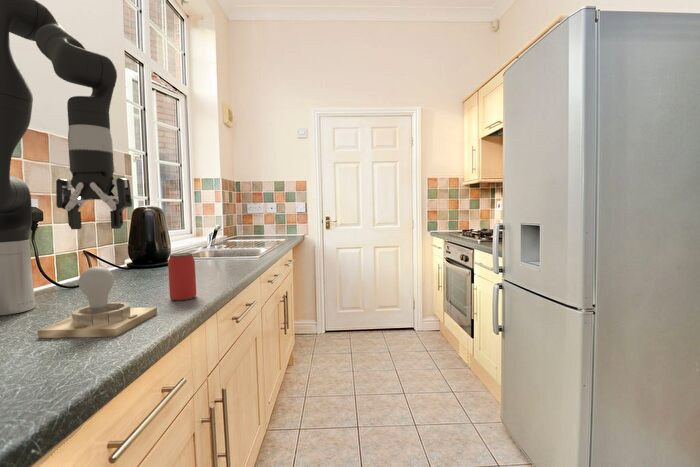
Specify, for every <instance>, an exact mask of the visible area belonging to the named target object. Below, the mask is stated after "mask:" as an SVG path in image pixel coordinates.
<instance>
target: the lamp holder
mask: <svg viewBox="0 0 700 467" xmlns="http://www.w3.org/2000/svg"><path fill="white" fill-rule="evenodd" d="M157 314H158V308H157V307H156V306H154V307H131V304H130V303H129V302H125V301H123V302H122V301H119V302H117V301H115V302H107V305H106V312H104V313H97V314H92V312H91V307H90V306H89V305H87V306H83V307H80V308H78V309H75V310H73V311H72V313H71V316H70V317H68V318H65V319H63V320H60V321H58V322H55V323H53V324H50V325H47V326H45V327H42V328H40V329H38V330H37V338H38V339H46V338H48V339H49V338H50V339H51V338H53V339H54V338H55V339H57V338H60V339H61V338H94V337H95V338H97V337H98V338H102V337H103V338H104V337H105V338H106V337H108V338H110V337H111V338H112V337H113V338H115V337H118V336H119V335H121V334H124V333H125V332H127V331H128V330H130V329H133V328H134V327H136V326H137V325H140V324H141V323H143V322H145V321H147V320H149V319H150V318H152V317H154V316H157Z"/></svg>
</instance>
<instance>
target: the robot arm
mask: <svg viewBox="0 0 700 467" xmlns="http://www.w3.org/2000/svg"><path fill="white" fill-rule="evenodd" d="M10 33H11V34H14V35H15V36H18V37H20V38H22V39H25V40H28V41H32V42H35V44H36V46H37V48H38V49H39V51H40V52H41V53H42V55H44V56H45V58H47V59H48V60H49V61H51V64H52V68H53V71H54V73H55V75H56V76H57V77H59V79H60V80H63V81H65V82H67V83H71V84H75V85H78V86H82V87H87V88H91V90H92V92H91V94H90V95H75V96H72V97H71V96H70V98H68V99H67V106H66V108H67V121H68V125H67V126H68V130H67V131H68V132H67V145H68V146H67V147H68V160H69V161H68V162H69V171H70V172H71V175H72V177H71V179H65V178H58V179H56V182H55V185H56V186H55V187H56V189H55V191H56V195H55V197H56V207H57V208H58V209H62V210H65V211H66V212H67V220H68V221H67V222H68V226H69V227H70V229H71V230H80V229H82V228H83V226H82V213H81V211H79V210H81V209H82V208H81V207H82V206H83V205H84V204H86V203H87V202H88V201H90V200H91V201H93V200H94V201H95V200H99V201H102V202H103V203H105V204H107V206H108V208H110V211H109V212H110V227H111V229H113V230H117V229H121V228H122V226H123V224H124V218H123V217H124V214H123V211H124V209H128V208H131V207H132V205H133V201H132V192H131V186H130V185H131V184H130V180H129V179H128V178H121V177H118V178H116V179H115V178H114V173H115V165H114V152H113V151H114V149H113V148H114V147H113V146H114V145H113V138H112V134H111V122H110V121H111V120H110V119H111V118H110V108H111V104H112V103H111V102H112V98H113V94H114V89H115V86H116V83H117V78H118V72H117V68H116V65H115V64H114V62H113V60H111V58H110V57H108V56H106V55H103V54H100V53H98V52H95V51H91V50H88V49H86V47H85V46H84V45H83V43H82V42H80V40H78V39H77V38H76V37H74V36H73V35H72V34H70V33H69V32H68V31H67V30H66V29H64V28H63V27H62V25H61V24H60V23H59V21H58V20H57V19H56V17H55V16H54V15H53V13H52V12H51V11H50V10H49V9H48V8H47V7H46V6H45V5H44V4H43V3H41V2H39V1H37V0H0V316H8V315H13V314H17V313H23V312H28V311H30V310H33V309H35V308H36V303H35V290H34V280H33V278H34V277H33V269H32V266H33V265H32V256H31V245H30V231H31V229H32V226H33V225H32V224H33V214H32V213H33V211H32V209H33V208H32V196H31V191H30V189H29V186H28V185H27V183H25V181H24V180H22V179H21V178H19V177H17V176H14V175H11V162H12V157H13V154H14V151H15V149H16V148H17V146H18V145H19V143H20V141H21V140H22V138H23V137H24V136H25V134H26V132H27V130H28V129H29V127H30V124H31V119H32V112H33V101H34V97H33V92H32V90H31V88H30V86H29V83H28V82H27V80H26V77H25V76H24V74H23V73H22V71H21V69H20V67H19V65H18V64H17V63H18V62H17V61H16V60H15V56H14V54H13V52H12V48H11V40H10ZM114 188H115V189H116V191H117V195H116V193H115V192H114V191H113V189H114ZM72 189H74V190H73V192H72Z"/></svg>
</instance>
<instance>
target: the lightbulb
mask: <svg viewBox="0 0 700 467" xmlns="http://www.w3.org/2000/svg"><path fill="white" fill-rule="evenodd" d="M114 284H115V278H114V275H113V273H112V271H110V270H109V269H108V268H106V267H104V266H91V267H88V268H87V269H85V270H83V272H82V273H81V274H80V276H79V278H78V286H79V289H80V290H81V292H82V293H83V294H84V295H85V296H86V299H87V302H88V306H90V307H91V312H92V314H97V313H104V312H106V305H107V303H108V298H109V294H110V291H111V290H112V288H113V286H114Z"/></svg>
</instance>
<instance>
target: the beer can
mask: <svg viewBox="0 0 700 467" xmlns="http://www.w3.org/2000/svg"><path fill="white" fill-rule="evenodd" d="M167 271H168V273H167V274H168V285H169V286H168V289H169V299H171V300H172V301H176V302H177V301H178V302H179V301H180V302H182V301H188V300H192V299H194V298H196V297H197V280H196V279H197V278H196V261H195V258H194V256H193V253H192V252H179V253H178V252H177V253H172V254H170V255H169V258H168V261H167Z"/></svg>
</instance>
